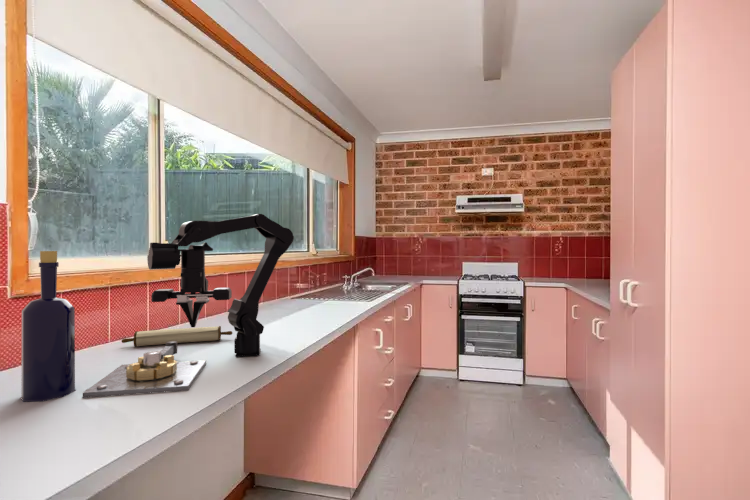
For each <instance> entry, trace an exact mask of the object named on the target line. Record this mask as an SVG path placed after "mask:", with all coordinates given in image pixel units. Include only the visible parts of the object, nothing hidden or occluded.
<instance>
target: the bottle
mask: <svg viewBox="0 0 750 500" xmlns="http://www.w3.org/2000/svg"><path fill="white" fill-rule="evenodd" d="M39 260H40V262H38V268H39V270H40V271H39V275H40V276H39V277H40V298H37V299H34V300H30V301H29V302H28V304H26V306H25V307H24V308H23V309H21V371H20V372H21V375H20V377H21V382H20V383H21V386H20V387H21V389H20V390H21V391H20V392H21V397H20V399H21V398H22V399H23V401H24V402H23V401H22V402H23V403H30V402H31V403H32V402H33V403H35V402H39V403H40V402H42V403H43V402H47V401H50V400H55V399H56V400H57V399H59V398H64V397H66V396H68V395H70V394H71V393H75V392H76V390H77V389H76V369H75V368H76V358H75V357H76V349H75V348H76V347H75V346H76V345H75V343H76V341H75V340H76V338H75V337H76V335H75V333H76V331H75V330H76V329H75V327H76V326H75V325H76V322H75V321H76V320H75V319H76V318H75V317H76V316H75V315H76V314H75V311H76V310H75V307H74V305H72V303H70V302H69V301H68V299H66V298H63V297H62V298H61V297H57V289H58V287H57V285H58V284H57V282H58V281H57V280H58V268H59V262H58V251H57V250H40V251H39ZM22 399H21V400H22Z"/></svg>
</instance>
